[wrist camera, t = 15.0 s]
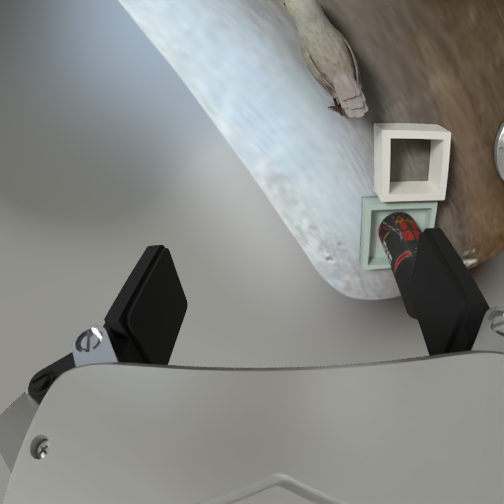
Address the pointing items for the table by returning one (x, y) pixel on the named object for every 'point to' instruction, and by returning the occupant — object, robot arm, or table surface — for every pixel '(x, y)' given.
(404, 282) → the deodorant
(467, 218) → the table surface
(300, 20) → the decorative bird
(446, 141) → the holder
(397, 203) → the tray
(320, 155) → the table surface
